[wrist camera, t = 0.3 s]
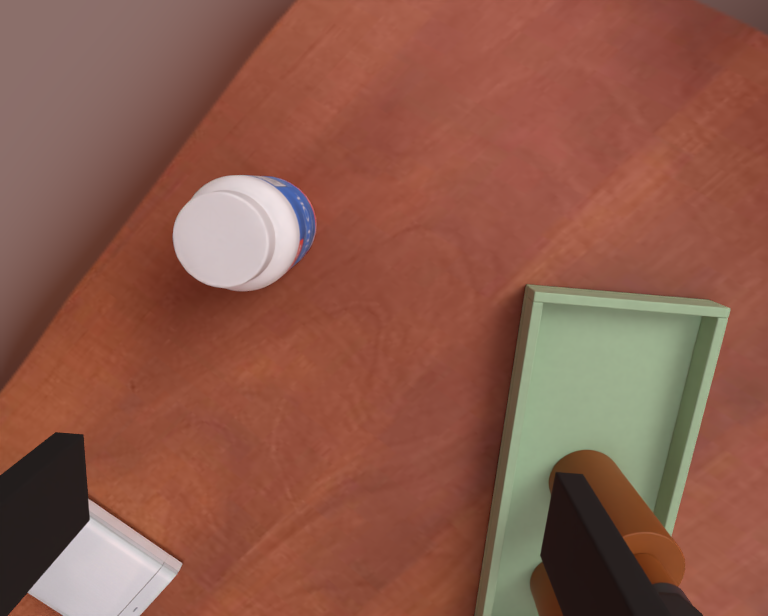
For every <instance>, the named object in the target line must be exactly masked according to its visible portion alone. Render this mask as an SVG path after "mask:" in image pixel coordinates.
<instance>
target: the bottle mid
mask: <svg viewBox="0 0 768 616" xmlns="http://www.w3.org/2000/svg"><path fill="white" fill-rule="evenodd" d="M555 472H563V473H575V474H583V475H584V477H585V478H586V480H587V481H588V483H589V485H590V486H591V488H592V489H593V491H594V492H595V494H596V496H597V497H598V499H599V500H600V502H601V504H602V505H603V507H604V508H605V510H606V512H607V513H608V515H609V516H610V518H611V520H612V521H613V523H614V524H615V526H616V528H617V529H618V531H619V532H620V534H621V536H622V537H623V539H624V540H625V542H626V543H627V545H628V547H629V548H630V550H631V551H632V553H633V555H634V556H635V558H636V559H637V561H638V563H639V564H640V566H641V567H642V569H643V571H644V572H645V574H646V575H647V577H648V579H649V580H650V582H651V583H652V585H653V586H654V588H655V590H656V591H657V592H667V593H679V594H680V595H681V596H682V597H683V598H684V599H686V600H687V601H688V602H689V603H690V604H691V602H690V601H689V599H688V598H687V597H686V595H685V594H684V592H683V591H682V590H681V589H680V588H679V587H678V586H679V585H680V583H681V581H682V579H683V576H684V572H685V559H684V556H683V553H682V551H681V549H680V548H679V546H678V545H677V543H676V542H675V541H674V540H673V538H672V537H671V536H670V534H669V533H668V532H667V530H666V529H665V528H664V526H663V525H662V524H661V523H660V521H659V520H658V519H657V517H656V516H655V515H654V513H653V512H652V511H651V509H650V508H649V507H648V506H647V504H646V503H645V502H644V500H643V499H642V498H641V496H640V495H639V494H638V492H637V491H636V490H635V489H634V487H633V486H632V485H631V483H630V482H629V481H628V479H627V478H626V477H625V475H624V474H623V473H622V472H621V470H620V469H619V468H618V466H617V465H616V464H615V462H614V461H613V460H612V459H611V458H610V457H608V456H607V455H605V454H604V453H601V452H598V451H594V450H580V451H575V452H572V453H570V454H568V455H566V456H565V457H563V458H562V459H561V460H559V461H558V462H557V464H556V465H555V466H554V468H553V469H552V471H551V474H550V478H549V490H550V493H551V494H552V488H553V483H554V478H555ZM691 605H692V604H691ZM692 606H693V605H692Z"/></svg>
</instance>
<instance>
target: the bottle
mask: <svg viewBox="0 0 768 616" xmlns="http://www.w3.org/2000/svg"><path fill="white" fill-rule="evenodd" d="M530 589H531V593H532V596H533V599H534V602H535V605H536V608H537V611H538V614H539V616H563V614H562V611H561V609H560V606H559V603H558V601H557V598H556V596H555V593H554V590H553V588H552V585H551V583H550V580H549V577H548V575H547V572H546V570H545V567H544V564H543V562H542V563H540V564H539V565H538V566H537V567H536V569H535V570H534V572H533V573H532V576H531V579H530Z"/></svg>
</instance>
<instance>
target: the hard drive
mask: <svg viewBox="0 0 768 616" xmlns="http://www.w3.org/2000/svg"><path fill="white" fill-rule="evenodd" d="M88 502H89V515H90V521H89V522H88V523H87V524H86V525H85V526H84V528H83V529H82V530H81V531H80V532H79V533H78V535H77V536H76V537H75V538H74V539H73V540H72V541H71V543H70V544H69V545H68V546H67V547H66V548H65V550H64V551H63V552H62V553H61V554H60V555H59V557H58V558H57V559H56V560H55V561H54V562H53V564H52V565H51V566H50V567H49V568H48V569H47V570H46V572H45V573H44V574H43V575H42V576H41V577H40V579H39V580H38V581H37V582H36V583H35V584H34V586H33V587H32V588H31V589H30V590H29V591H28V593H29V594H30V595H32V596H33V597H35V598H37V599H38V600H40V601H41V602H43V603H44V604H46V605H48V606H49V607H51V608H52V609H54V610H55V611H57V612H58V613H60V614H62V615H63V616H140V615H141V614H142V613H143V612H144V610H145V609H146V608H147V607H148V606H149V605H150V604H151V603H152V602H153V601H154V599H155V598H156V597H157V596H158V595H159V594H160V593H161V592H162V591H163V590H164V588H165V587H166V586H167V585H168V584H169V583H170V582H171V581H172V580H173V578H174V577H175V576H176V575H177V573H178V572H179V570H180V568H181V566H182V563H181V562H180V561H178V560H177V559H175V558H174V557H173V556H171V555H169V554H168V553H166V552H165V551H164V550H162V549H161V548H159V547H158V546H156V545H155V544H154V543H152V542H151V541H149V540H148V539H146V538H145V537H143V536H142V535H141V534H139V533H138V532H136V531H135V530H133V529H132V528H130V527H129V526H127V525H126V524H125V523H123V522H122V521H120V520H119V519H117V518H116V517H114V516H113V515H111V514H110V513H108V512H107V511H106V510H104V509H103V508H101V507H100V506H98V505H97V504H96V503H94V502H93V501H91V500H90V499H88Z"/></svg>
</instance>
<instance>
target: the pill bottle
mask: <svg viewBox="0 0 768 616" xmlns="http://www.w3.org/2000/svg"><path fill="white" fill-rule="evenodd" d="M315 234H316V216H315V212H314V209H313V207H312V204H311V203H310V201H309V199H308V198H307V196H306V195H305V194H304V193H303V192H302V191H301V190H300V189H299V188H298V187H296V186H295V185H294V184H292V183H290V182H288V181H286V180H283V179H280V178H276V177H269V176H249V175H231V176H224V177H220V178H217V179H215V180H212V181H211V182H209V183H207V184H205V185H204V186H203V187H201V188H200V189H199V190H198V191H197V192H196V193H195V194H194V196H193V197H192V198H191V200H190V201H189V202H188V203H187V204H186V205H185V206H184V207H183V208H182V209H181V211H180V212H179V214H178V216H177V218H176V221H175V224H174V229H173V244H174V249H175V252H176V255H177V257H178V259H179V261H180V263H181V264H182V266H183V267H184V269H185V270H186V271H187V272H188V273H189V274H190V275H191V276H193V277H194V278H195V279H197V280H198V281H200V282H202V283H204V284H206V285H209V286H213V287H218V288H225V289H229V290H234V291H252V290H257V289H261V288H264V287H266V286H268V285H270V284H272V283H273V282H275V281H277V280H278V279H279V278H281V277H282V276H283V275H284V274H285V273H286V272H288V271H289V270H290V269H291V268H292V267H293V266H294V265H295V264H296V263H298V262H299V261H300V260H301V259H302V258H303V257H304V256H305V255H306V254H307V252H308V251H309V249H310V248H311V246H312V243H313V241H314V238H315Z"/></svg>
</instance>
